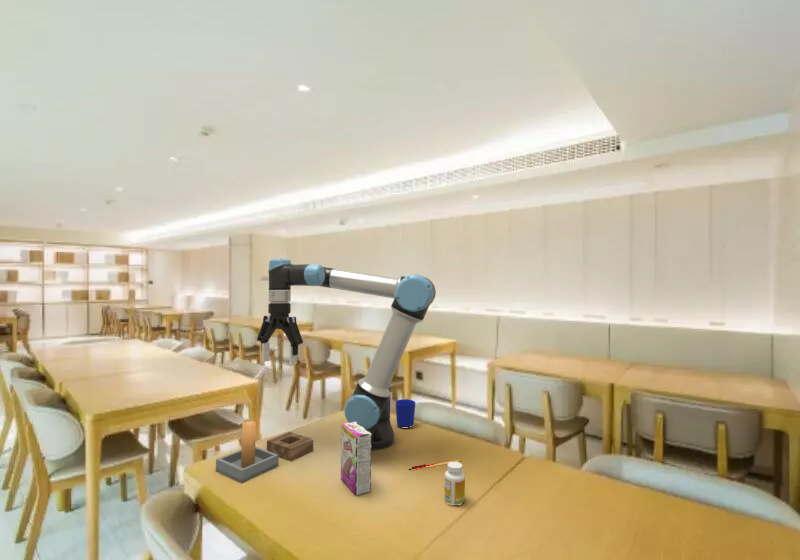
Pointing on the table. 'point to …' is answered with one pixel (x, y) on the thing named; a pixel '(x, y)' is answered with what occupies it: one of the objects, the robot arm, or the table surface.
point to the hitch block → (290, 446)
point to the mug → (405, 412)
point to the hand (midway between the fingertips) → (279, 362)
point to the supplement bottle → (454, 484)
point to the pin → (248, 443)
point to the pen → (421, 466)
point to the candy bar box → (356, 457)
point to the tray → (263, 463)
